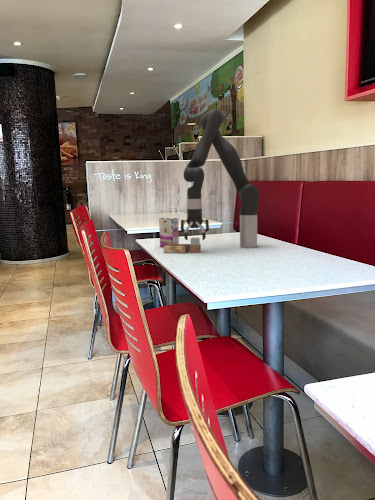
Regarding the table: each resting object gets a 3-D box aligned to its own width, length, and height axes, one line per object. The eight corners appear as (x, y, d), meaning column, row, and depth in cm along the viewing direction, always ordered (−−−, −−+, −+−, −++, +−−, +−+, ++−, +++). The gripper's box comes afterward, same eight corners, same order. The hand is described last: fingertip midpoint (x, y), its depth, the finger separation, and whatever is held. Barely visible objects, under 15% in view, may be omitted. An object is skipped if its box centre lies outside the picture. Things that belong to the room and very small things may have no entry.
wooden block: (166, 250, 224) (166, 242, 223) (200, 250, 221) (200, 242, 220) (163, 253, 216) (163, 244, 216) (199, 253, 214) (199, 244, 213)
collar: (192, 244, 220) (191, 237, 219) (199, 244, 219) (199, 237, 219) (190, 245, 216) (190, 238, 216) (198, 245, 215) (198, 238, 215)
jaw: (186, 251, 217) (185, 245, 216) (185, 252, 214) (185, 246, 214) (164, 251, 218) (164, 245, 218) (163, 252, 216) (163, 246, 215)
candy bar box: (179, 248, 233) (178, 217, 230) (172, 249, 229) (171, 218, 227) (166, 246, 241) (165, 216, 238) (159, 247, 238) (158, 217, 235)
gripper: (179, 208, 212) (180, 241, 215) (208, 208, 210) (208, 240, 213) (181, 207, 219) (182, 239, 222) (209, 207, 218) (209, 238, 220)
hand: (195, 239), depth 217 cm, fingers open, 8 cm apart
